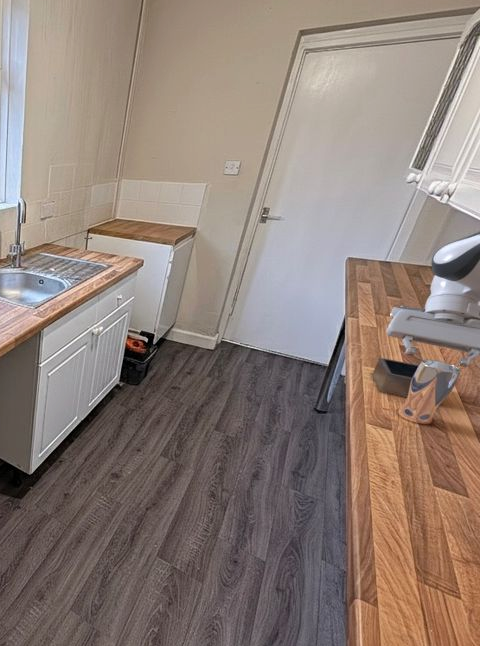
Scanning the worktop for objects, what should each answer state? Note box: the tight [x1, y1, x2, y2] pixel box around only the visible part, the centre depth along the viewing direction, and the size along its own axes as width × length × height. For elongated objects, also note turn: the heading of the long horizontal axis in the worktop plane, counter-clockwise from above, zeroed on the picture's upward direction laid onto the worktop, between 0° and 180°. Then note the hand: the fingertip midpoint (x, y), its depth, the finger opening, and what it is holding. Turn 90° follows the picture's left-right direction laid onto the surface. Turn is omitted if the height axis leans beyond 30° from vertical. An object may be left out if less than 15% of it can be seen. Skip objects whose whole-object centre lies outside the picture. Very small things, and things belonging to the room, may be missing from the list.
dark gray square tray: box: [372, 357, 420, 399], centre depth 116 cm, size 12×12×6 cm
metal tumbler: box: [397, 358, 462, 425], centre depth 102 cm, size 7×7×15 cm
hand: (435, 359), depth 104 cm, fingers open, 8 cm apart
